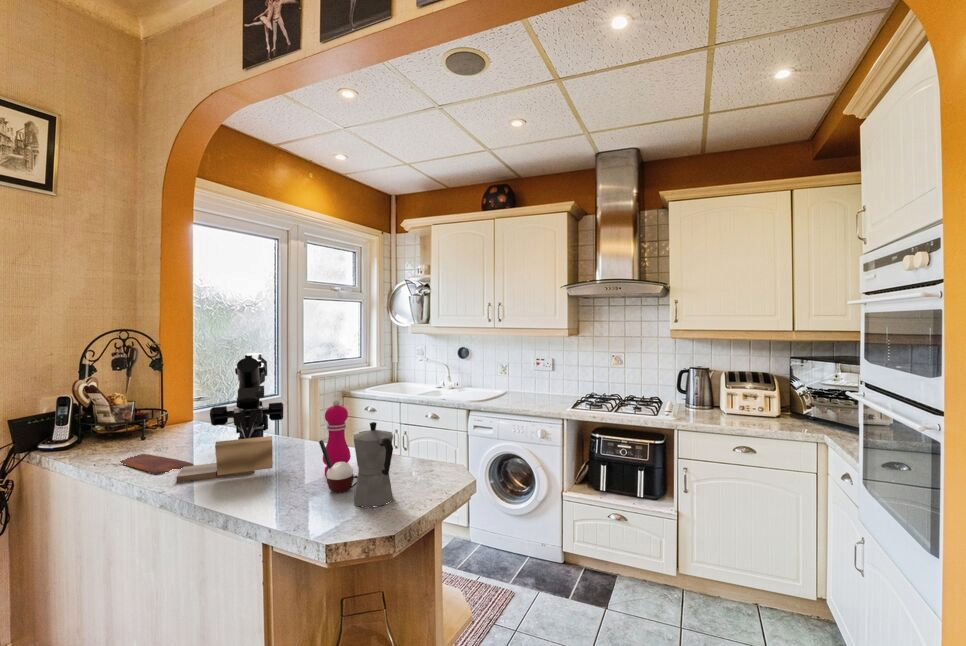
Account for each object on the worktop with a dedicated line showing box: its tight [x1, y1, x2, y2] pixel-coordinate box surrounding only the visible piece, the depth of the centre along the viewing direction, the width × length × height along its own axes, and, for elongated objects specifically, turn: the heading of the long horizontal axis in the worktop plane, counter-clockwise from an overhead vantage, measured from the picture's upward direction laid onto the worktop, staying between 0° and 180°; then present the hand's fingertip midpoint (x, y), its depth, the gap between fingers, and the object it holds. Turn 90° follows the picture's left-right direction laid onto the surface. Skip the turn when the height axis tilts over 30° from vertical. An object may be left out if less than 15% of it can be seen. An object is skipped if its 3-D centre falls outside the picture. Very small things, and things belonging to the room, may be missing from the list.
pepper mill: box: [322, 399, 351, 477], centre depth 121 cm, size 7×7×20 cm
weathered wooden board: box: [176, 462, 256, 483], centre depth 122 cm, size 9×18×2 cm, turn 115°
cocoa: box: [318, 439, 358, 494], centre depth 109 cm, size 10×6×12 cm, turn 67°
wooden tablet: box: [120, 453, 194, 475], centre depth 130 cm, size 27×10×2 cm, turn 62°
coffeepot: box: [353, 421, 394, 508], centre depth 101 cm, size 15×9×18 cm, turn 39°
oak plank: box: [214, 435, 274, 475], centre depth 117 cm, size 10×13×2 cm
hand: (247, 438), depth 124 cm, fingers closed
